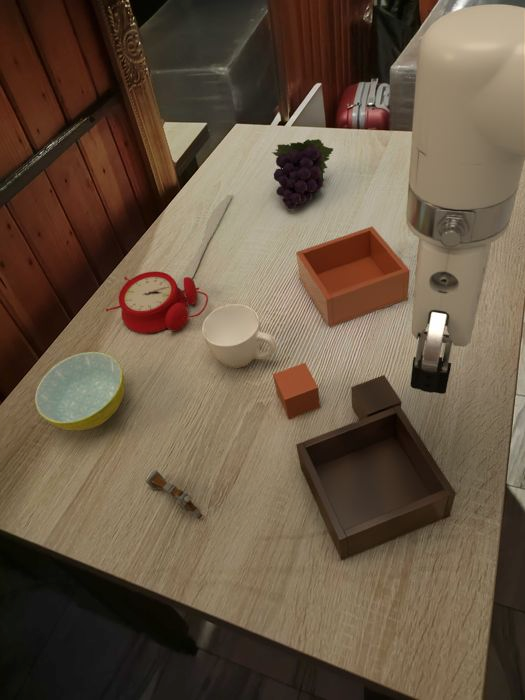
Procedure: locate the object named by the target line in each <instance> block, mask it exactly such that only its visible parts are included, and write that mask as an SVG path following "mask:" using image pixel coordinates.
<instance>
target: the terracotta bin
mask: <svg viewBox="0 0 525 700" xmlns="http://www.w3.org/2000/svg"><path fill="white" fill-rule="evenodd" d="M295 254H296V262H297V269H298V275H299V276H298V277H299V278H298V279H299V281H300V283H301V284H302V286H303V287H304V289H305V291H306V292H307V294H308V296H309V297H310V299H311V301H312V303H313V304H314V306H315V307H316V309H317V310H318V312H319V314H320V315H321V317H322V319H323V320H324V322H325V323H326V325H327V327H328V328H332V327H334V326H336V325H339V324H342V323H345V322H347V321H351V320H354V319H356V318H359V317H362V316H365V315H368V314H371V313H373V312H376V311H379V310H381V309H384V308H388V307H389V306H392V305H393V306H394V305H395V304H398V303H401V302H404V301H407V300H409V287H410V286H409V285H410V275H411V270H410V269H409V268H408V266H407V265H406V264H405V263H404V262H403V260H402V259H401V257H399V256H398V254H397V253H396V252H395V251H394V250H393V249H392V248H391V246H390V245H389V244H388V243H387V241H386V240H385V239H384V238H383V237H382V236H381V235H380V234H379V233H378V231H377V230H376V229H375V228H374V226H369V227H367V228H364V229H360V230H358V231H354V232H351V233H349V234H346V235H343V236H340V237H336V238H333V239H331V240H327V241H325V242H322V243H320V244H319V243H318V244H316V245H313V246H310V247H308V248H304V249H302V250H299V251H296V253H295Z"/></svg>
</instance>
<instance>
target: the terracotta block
mask: <svg viewBox="0 0 525 700" xmlns="http://www.w3.org/2000/svg"><path fill="white" fill-rule="evenodd" d="M272 377H273V382H274V386H275V391H276V395H277V397H278V399H279V401H280V404H281V406H282V409H283V411H284V413H285V415H286V417H287V419H288V420H291V419H294V418H297V417H300V416H302V415H305V414H308V413H310V412H313V411H316V410H318V409H321V402H320V400H321V399H320V391H319V386H318V385H317V382H316V381H315V379H314V377H313V375H312V373H311V371H310V369H309V367H308V366H307V364H306V362H303V363H300V364H297V365H294V366H292V367H289V368H286V369H284V370H281V371H278V372H275V373H273V374H272Z"/></svg>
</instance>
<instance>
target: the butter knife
mask: <svg viewBox="0 0 525 700" xmlns="http://www.w3.org/2000/svg"><path fill="white" fill-rule="evenodd" d="M232 197H233V195H232V194H228V195H227V196H225V197H224V198H223V199H222V201H221V202H220V203H219V204H218V205H217V206H216V207H215V209H213V211H212V213H211V215H210V217H209V218H208V221H207V224H206V226H205V230H204V234H203V237H202V240H201V243H200V245H199V247H198V249H197V251H196V253H195V255H194V256H193V257H192V259H191V261H190V262H189V263H188V265H187V267H186V268H185V270H184V272H183V273H182V276H180V279H179V280H178V283H176V284H177V287H178V288H180V289H181V290H182V291H183V292H185V291H184V278H185V277H190V278H191V279H192V280H193V279H194V278H193V277H194V276H195V273H196V271H197V269H198V267H199V264H200V262H201V259H202V256H203V255H204V252H205V250H206V248H207V246H208V243H209V241H210V240H211V238H212V236H213V234H214V233H215V231H216V229H217V227H218V225H219V223H220V221H221V219H222V217H223V216H224V214H225V212H226V209H227V208H228V205H229V204H230V201H231V200H232Z"/></svg>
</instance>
